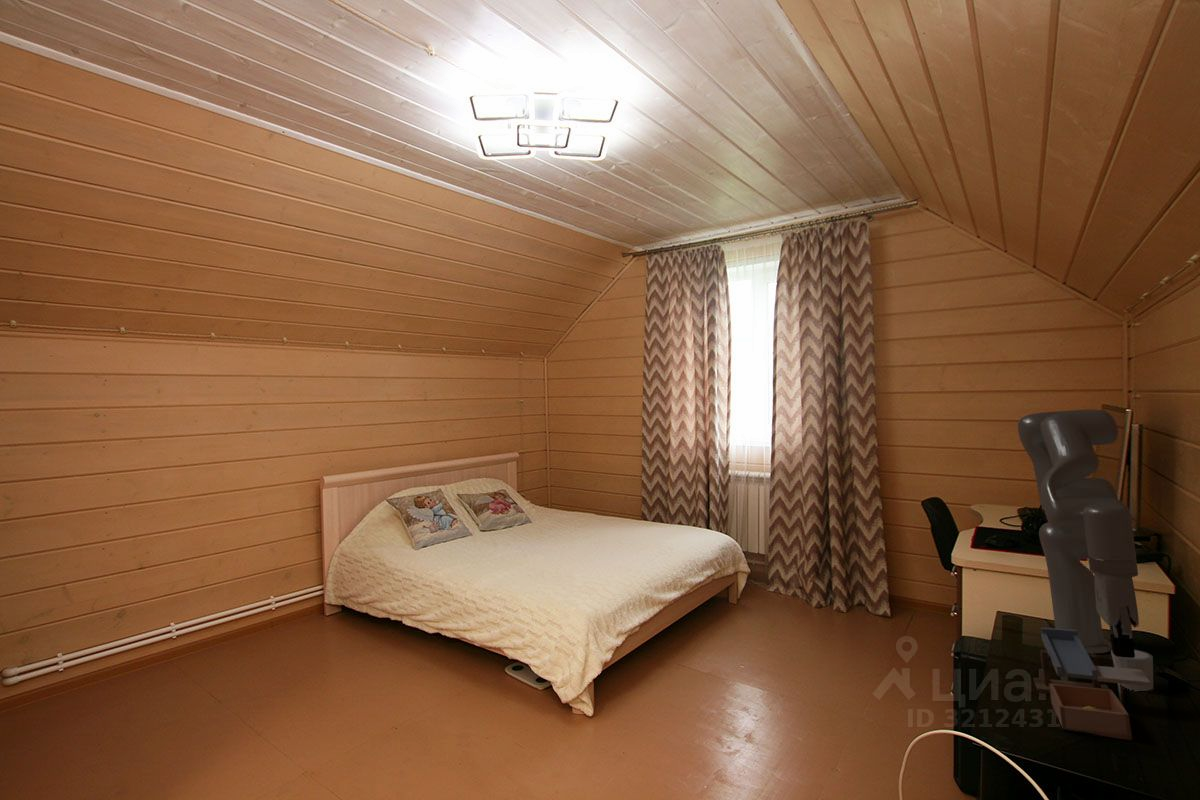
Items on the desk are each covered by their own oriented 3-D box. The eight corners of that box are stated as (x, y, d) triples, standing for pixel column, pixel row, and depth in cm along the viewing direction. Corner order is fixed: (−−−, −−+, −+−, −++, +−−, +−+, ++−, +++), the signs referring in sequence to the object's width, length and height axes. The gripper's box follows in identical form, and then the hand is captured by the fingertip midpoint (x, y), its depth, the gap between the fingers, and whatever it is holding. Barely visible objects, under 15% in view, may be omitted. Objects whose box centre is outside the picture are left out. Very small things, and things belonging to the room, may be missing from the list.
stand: (1033, 681, 134) (1029, 645, 134) (1107, 688, 128) (1102, 651, 128) (1038, 692, 129) (1033, 654, 129) (1115, 700, 122) (1109, 661, 123)
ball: (1078, 701, 114) (1083, 718, 112) (1100, 704, 113) (1104, 720, 110) (1078, 710, 116) (1082, 726, 113) (1099, 713, 114) (1103, 729, 112)
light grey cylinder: (1165, 693, 124) (1161, 659, 124) (1128, 693, 125) (1123, 659, 125) (1143, 679, 130) (1138, 647, 131) (1107, 679, 132) (1103, 647, 132)
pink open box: (1051, 705, 123) (1048, 683, 123) (1114, 712, 118) (1111, 689, 118) (1062, 731, 113) (1059, 707, 113) (1132, 740, 108) (1129, 715, 108)
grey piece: (1041, 642, 138) (1039, 627, 138) (1123, 649, 131) (1121, 632, 131) (1057, 680, 123) (1055, 663, 123) (1151, 689, 116) (1149, 671, 116)
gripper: (1080, 555, 129) (1090, 639, 129) (1099, 575, 116) (1110, 669, 115) (1125, 556, 126) (1135, 643, 125) (1149, 576, 112) (1161, 673, 112)
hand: (1123, 655), depth 120 cm, fingers closed
